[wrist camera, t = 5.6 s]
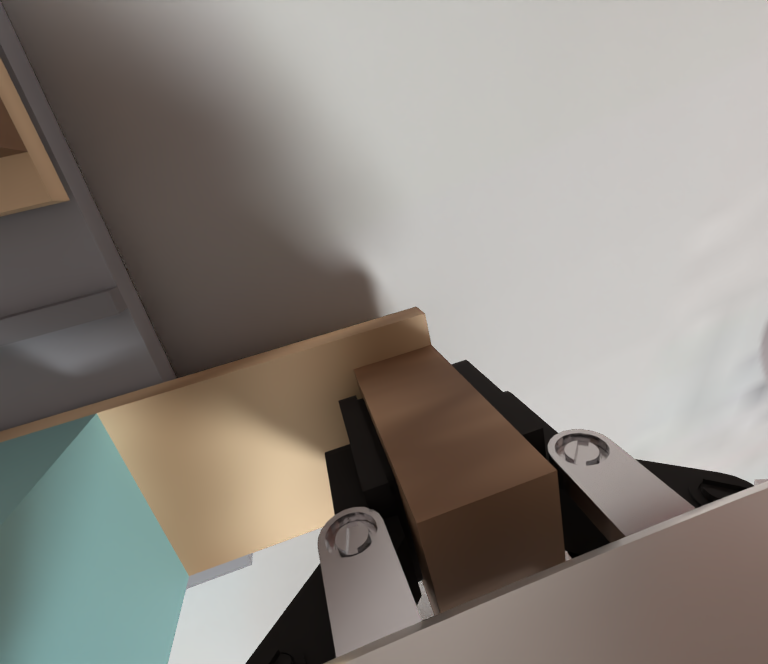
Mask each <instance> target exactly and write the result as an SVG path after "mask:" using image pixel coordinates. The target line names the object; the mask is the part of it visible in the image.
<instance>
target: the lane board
mask: <svg viewBox="0 0 768 664" xmlns="http://www.w3.org/2000/svg"><path fill="white" fill-rule="evenodd" d="M0 58H1V60H2V62H3V64H4V66H5V68H6V70H7V72H8V74H9V76H10V78H11V80H12V82H13V84H14V86H15V88H16V90H17V92H18V95H19V97H20V99H21V101H22V103H23V105H24V107H25V109H26V111H27V113H28V115H29V117H30V119H31V121H32V123H33V125H34V127H35V129H36V131H37V134H38V136H39V138H40V140H41V142H42V144H43V146H44V148H45V150H46V152H47V154H48V156H49V158H50V160H51V162H52V164H53V166H54V168H55V171H56V173H57V175H58V177H59V179H60V181H61V183H62V185H63V187H64V189H65V191H66V193H67V195H68V197H69V199H70V201H65V202H61V203H57V204H53V205H48V206H44V207H40V208H35V209H31V210H27V211H22V212H18V213H14V214H10V215H5V216H1V217H0V431H4V430H7V429H10V428H14V427H17V426H20V425H24V424H27V423H30V422H34V421H37V420H40V419H44V418H47V417H50V416H54V415H57V414H60V413H64V412H67V411H70V410H74V409H77V408H80V407H84V406H87V405H90V404H94V403H97V402H100V401H104V400H107V399H110V398H114V397H117V396H120V395H124V394H127V393H130V392H134V391H137V390H140V389H144V388H147V387H150V386H154V385H157V384H160V383H164V382H167V381H170V380H174V379H177V378H176V376H175V373H174V371H173V369H172V367H171V365H170V363H169V361H168V358H167V356H166V354H165V352H164V350H163V348H162V346H161V343H160V341H159V339H158V337H157V335H156V333H155V331H154V328H153V326H152V324H151V322H150V320H149V318H148V316H147V313H146V311H145V309H144V307H143V305H142V303H141V301H140V298H139V296H138V294H137V292H136V290H135V288H134V286H133V283H132V281H131V279H130V277H129V275H128V273H127V271H126V268H125V266H124V264H123V262H122V260H121V258H120V256H119V253H118V251H117V249H116V247H115V245H114V243H113V241H112V238H111V236H110V234H109V232H108V230H107V228H106V226H105V223H104V221H103V219H102V217H101V215H100V213H99V211H98V208H97V206H96V204H95V202H94V200H93V198H92V196H91V193H90V191H89V189H88V187H87V185H86V183H85V181H84V178H83V176H82V174H81V172H80V170H79V168H78V166H77V163H76V161H75V159H74V157H73V155H72V153H71V151H70V148H69V146H68V144H67V142H66V140H65V138H64V136H63V133H62V131H61V129H60V127H59V125H58V123H57V121H56V118H55V116H54V114H53V112H52V110H51V108H50V106H49V103H48V101H47V99H46V97H45V95H44V93H43V91H42V89H41V86H40V84H39V82H38V80H37V78H36V76H35V74H34V71H33V69H32V67H31V65H30V63H29V61H28V59H27V56H26V54H25V52H24V50H23V48H22V46H21V44H20V41H19V39H18V37H17V35H16V33H15V31H14V29H13V26H12V24H11V22H10V20H9V18H8V16H7V14H6V11H5V9H4V7H3V5H2V3H1V1H0ZM252 554H253V553H251V554H248V555H245V556H243V557H240V558H237V559H235V560H232V561H229V562H226V563H224V564H221V565H218V566H215V567H213V568H210V569H207V570H205V571H202V572H199V573H196V574H194V575H191V576H189V578H188V583H187V587H186V589H188V588H190V587H193V586H196V585H198V584H201V583H204V582H207V581H209V580H212V579H215V578H217V577H220V576H223V575H225V574H228V573H231V572H233V571H236V570H239V569H242V568H244V567H247V566H250V565H252Z"/></svg>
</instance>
